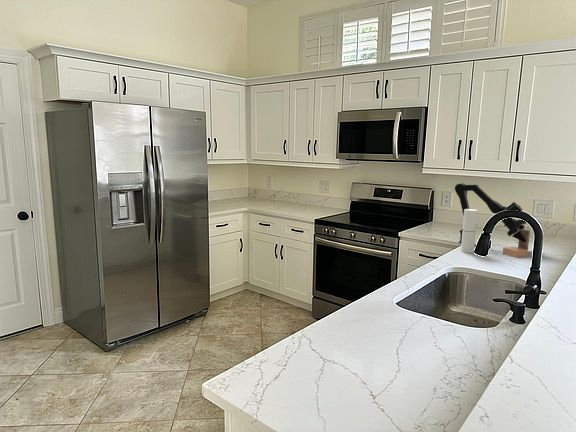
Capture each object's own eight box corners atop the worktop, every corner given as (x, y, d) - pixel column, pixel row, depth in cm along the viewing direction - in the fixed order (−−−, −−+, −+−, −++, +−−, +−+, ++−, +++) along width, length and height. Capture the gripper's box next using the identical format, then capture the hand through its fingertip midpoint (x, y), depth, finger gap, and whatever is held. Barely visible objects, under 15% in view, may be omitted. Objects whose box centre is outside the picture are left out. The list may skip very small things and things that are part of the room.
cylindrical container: (460, 251, 239) (463, 210, 235) (461, 249, 245) (464, 208, 241) (473, 253, 235) (477, 211, 232) (474, 251, 242) (478, 209, 238)
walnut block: (517, 251, 242) (519, 230, 240) (519, 250, 246) (521, 229, 244) (526, 253, 239) (528, 231, 237) (527, 251, 243) (530, 230, 241)
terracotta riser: (502, 254, 236) (503, 247, 235) (513, 253, 240) (513, 246, 239) (516, 258, 228) (517, 251, 227) (527, 256, 231) (528, 250, 231)
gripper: (515, 214, 235) (535, 235, 229) (523, 211, 248) (541, 231, 243) (499, 225, 241) (518, 246, 235) (507, 222, 255) (525, 242, 249)
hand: (526, 241), depth 241 cm, fingers closed on walnut block, 4 cm apart
